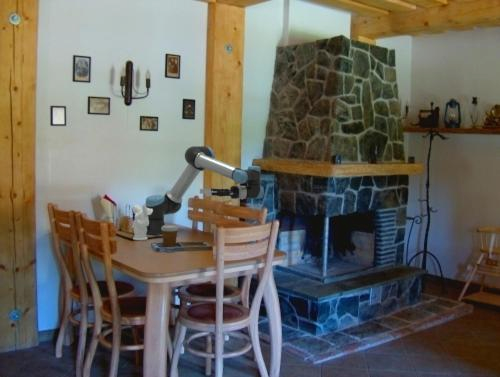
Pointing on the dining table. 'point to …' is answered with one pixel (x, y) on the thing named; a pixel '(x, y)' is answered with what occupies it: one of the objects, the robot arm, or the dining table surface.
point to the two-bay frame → (182, 246)
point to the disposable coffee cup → (169, 235)
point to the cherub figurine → (141, 221)
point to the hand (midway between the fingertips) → (202, 192)
